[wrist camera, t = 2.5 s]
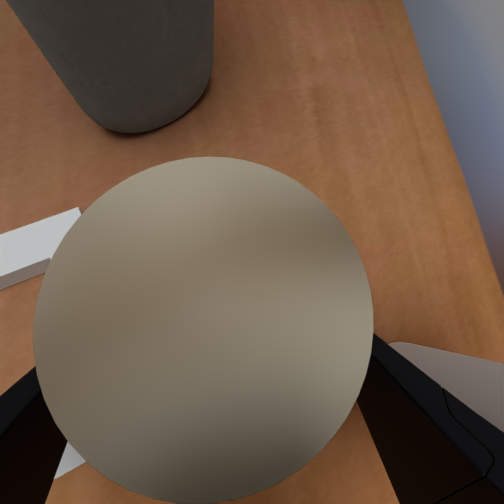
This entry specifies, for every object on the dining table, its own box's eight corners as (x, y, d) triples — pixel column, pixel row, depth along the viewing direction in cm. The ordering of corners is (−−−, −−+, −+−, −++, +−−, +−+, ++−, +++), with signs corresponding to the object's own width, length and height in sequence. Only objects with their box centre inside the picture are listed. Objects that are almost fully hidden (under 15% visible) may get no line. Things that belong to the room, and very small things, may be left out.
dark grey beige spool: (283, 313, 18) (432, 341, 5) (207, 372, 16) (160, 608, 4) (232, 241, 18) (254, 110, 6) (155, 292, 17) (-35, 264, 4)
